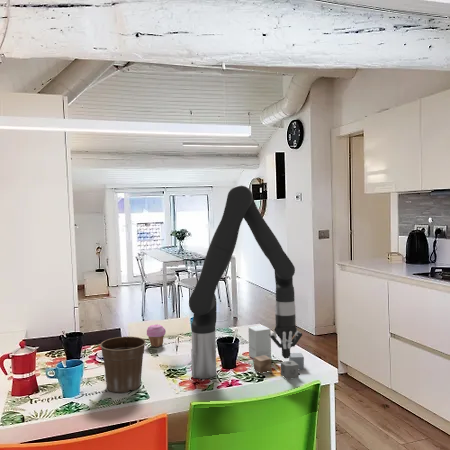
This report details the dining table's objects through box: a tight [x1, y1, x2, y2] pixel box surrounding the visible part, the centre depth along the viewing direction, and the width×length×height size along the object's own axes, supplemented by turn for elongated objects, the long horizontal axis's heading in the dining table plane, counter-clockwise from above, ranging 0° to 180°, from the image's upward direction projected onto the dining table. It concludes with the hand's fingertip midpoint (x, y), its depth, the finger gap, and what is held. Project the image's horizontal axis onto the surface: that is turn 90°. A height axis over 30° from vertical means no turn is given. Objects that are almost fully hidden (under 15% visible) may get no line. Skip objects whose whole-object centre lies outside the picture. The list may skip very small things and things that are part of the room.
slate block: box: [288, 352, 305, 370], centre depth 176 cm, size 5×5×5 cm
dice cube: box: [280, 360, 300, 380], centre depth 167 cm, size 5×5×5 cm
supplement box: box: [248, 324, 272, 360], centre depth 188 cm, size 7×7×13 cm
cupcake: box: [146, 323, 166, 348], centre depth 207 cm, size 9×9×10 cm
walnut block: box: [253, 355, 272, 374], centre depth 173 cm, size 5×5×5 cm
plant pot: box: [99, 336, 147, 394], centre depth 160 cm, size 16×16×16 cm
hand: (286, 357), depth 166 cm, fingers closed
